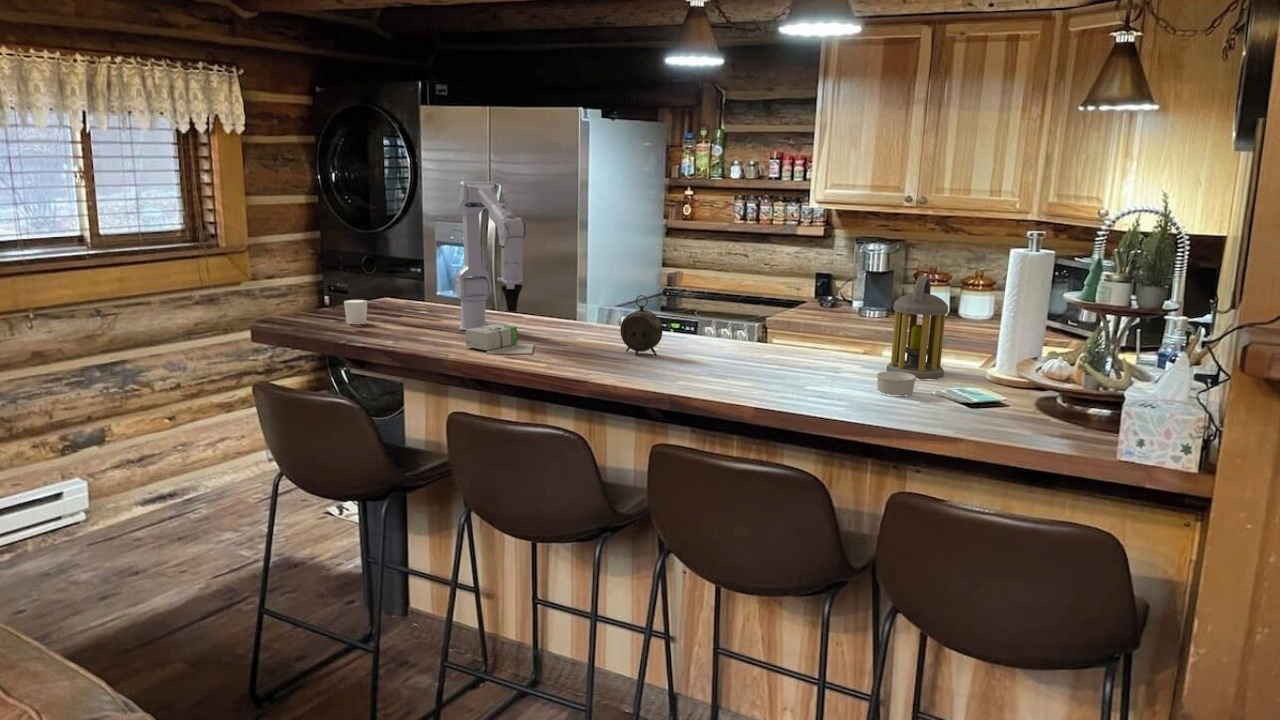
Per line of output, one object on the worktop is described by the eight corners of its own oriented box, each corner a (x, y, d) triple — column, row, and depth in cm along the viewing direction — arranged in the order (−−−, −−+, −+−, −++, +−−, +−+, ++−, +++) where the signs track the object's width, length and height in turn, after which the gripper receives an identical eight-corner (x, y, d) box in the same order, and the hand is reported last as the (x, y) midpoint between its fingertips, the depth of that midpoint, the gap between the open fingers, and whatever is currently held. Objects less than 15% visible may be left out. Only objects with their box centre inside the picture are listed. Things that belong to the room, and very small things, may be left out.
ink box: (517, 326, 263) (488, 332, 254) (517, 344, 264) (488, 351, 255) (494, 323, 268) (464, 329, 258) (494, 340, 269) (465, 347, 260)
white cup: (364, 325, 288) (363, 303, 286) (341, 325, 288) (340, 302, 286) (370, 322, 295) (370, 299, 293) (348, 321, 295) (347, 298, 293)
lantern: (893, 365, 253) (901, 271, 247) (948, 372, 246) (957, 275, 241) (880, 375, 240) (888, 276, 235) (937, 382, 234) (947, 281, 229)
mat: (490, 345, 265) (490, 343, 265) (533, 345, 266) (533, 344, 266) (486, 354, 253) (486, 352, 253) (531, 354, 254) (531, 353, 254)
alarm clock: (662, 354, 258) (664, 295, 254) (654, 358, 253) (656, 298, 250) (625, 350, 262) (627, 292, 259) (617, 354, 257) (618, 294, 254)
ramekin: (891, 399, 217) (893, 381, 216) (867, 390, 225) (869, 372, 224) (922, 396, 221) (924, 378, 220) (898, 387, 229) (899, 370, 228)
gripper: (499, 259, 268) (499, 306, 271) (495, 265, 254) (495, 315, 257) (524, 259, 269) (524, 307, 272) (521, 265, 254) (521, 315, 257)
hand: (512, 311), depth 264 cm, fingers closed
